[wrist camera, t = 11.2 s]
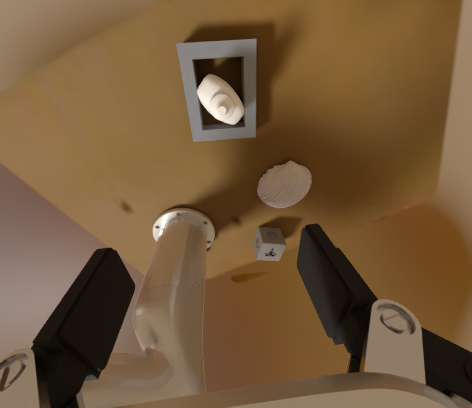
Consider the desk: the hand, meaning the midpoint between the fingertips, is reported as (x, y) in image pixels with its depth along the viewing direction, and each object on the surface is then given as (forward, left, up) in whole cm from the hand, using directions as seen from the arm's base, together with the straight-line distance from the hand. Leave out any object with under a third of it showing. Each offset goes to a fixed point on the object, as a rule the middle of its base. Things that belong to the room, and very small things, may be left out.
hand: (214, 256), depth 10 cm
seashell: (-11, -12, -25) cm, 30 cm away
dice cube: (-24, -9, -25) cm, 36 cm away
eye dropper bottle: (+5, -1, -25) cm, 25 cm away
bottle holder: (+5, -1, -25) cm, 25 cm away
